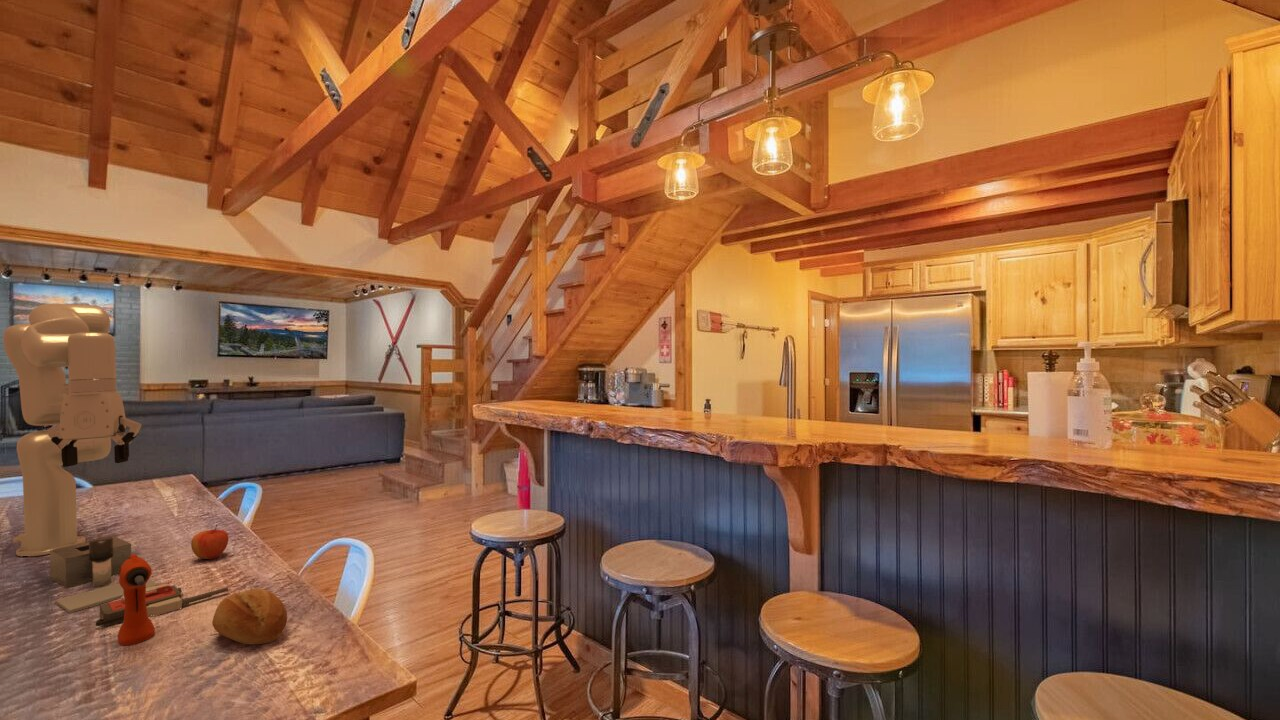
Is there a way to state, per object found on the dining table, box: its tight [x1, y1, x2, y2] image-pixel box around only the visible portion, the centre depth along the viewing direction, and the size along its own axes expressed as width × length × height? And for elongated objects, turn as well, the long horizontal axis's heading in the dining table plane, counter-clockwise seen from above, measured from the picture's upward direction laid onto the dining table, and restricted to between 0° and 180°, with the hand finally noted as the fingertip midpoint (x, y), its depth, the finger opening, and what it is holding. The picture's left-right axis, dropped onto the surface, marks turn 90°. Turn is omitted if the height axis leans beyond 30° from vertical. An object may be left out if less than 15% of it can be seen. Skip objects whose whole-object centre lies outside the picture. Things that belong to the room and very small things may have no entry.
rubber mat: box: [54, 578, 160, 614], centre depth 117 cm, size 9×14×1 cm, turn 149°
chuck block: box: [49, 535, 132, 589], centre depth 128 cm, size 11×11×6 cm
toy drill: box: [117, 553, 156, 646], centre depth 96 cm, size 5×19×15 cm, turn 46°
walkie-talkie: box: [95, 582, 229, 627], centre depth 111 cm, size 9×4×20 cm
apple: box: [190, 524, 229, 560], centre depth 137 cm, size 7×7×8 cm
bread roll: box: [212, 588, 288, 645], centre depth 99 cm, size 10×15×8 cm, turn 63°
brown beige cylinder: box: [88, 536, 113, 589], centre depth 122 cm, size 4×4×10 cm
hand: (96, 463), depth 123 cm, fingers open, 9 cm apart
